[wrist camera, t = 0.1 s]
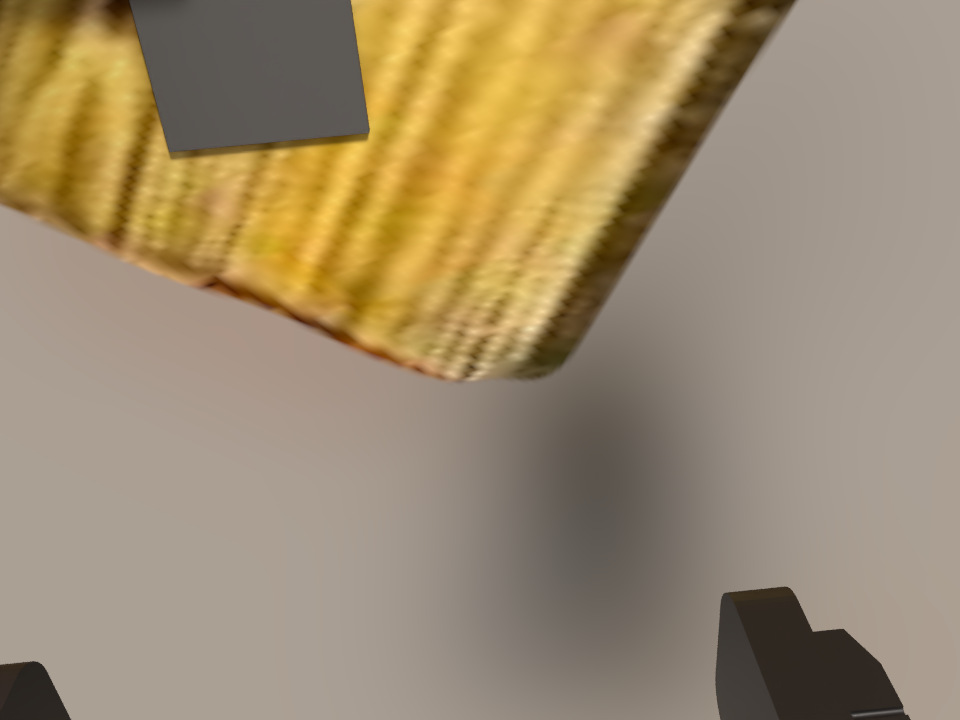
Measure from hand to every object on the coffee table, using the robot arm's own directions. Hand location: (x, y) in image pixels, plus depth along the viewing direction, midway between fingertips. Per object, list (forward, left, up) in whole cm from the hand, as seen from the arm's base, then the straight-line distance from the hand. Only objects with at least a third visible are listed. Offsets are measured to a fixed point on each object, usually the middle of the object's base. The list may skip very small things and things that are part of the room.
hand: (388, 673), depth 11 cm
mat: (-2, -6, -29) cm, 30 cm away
